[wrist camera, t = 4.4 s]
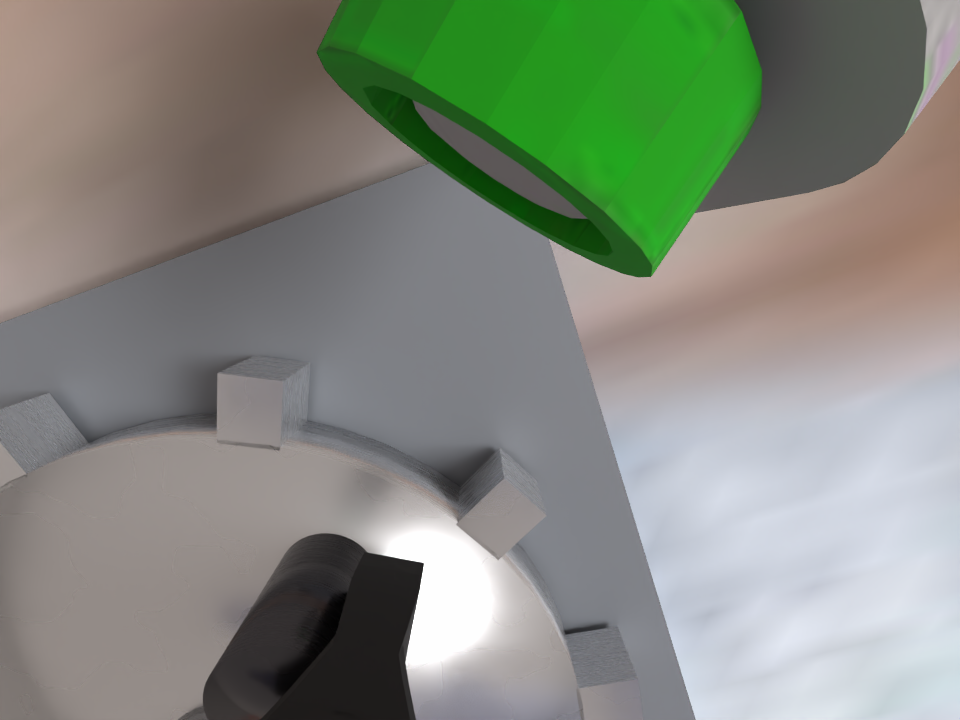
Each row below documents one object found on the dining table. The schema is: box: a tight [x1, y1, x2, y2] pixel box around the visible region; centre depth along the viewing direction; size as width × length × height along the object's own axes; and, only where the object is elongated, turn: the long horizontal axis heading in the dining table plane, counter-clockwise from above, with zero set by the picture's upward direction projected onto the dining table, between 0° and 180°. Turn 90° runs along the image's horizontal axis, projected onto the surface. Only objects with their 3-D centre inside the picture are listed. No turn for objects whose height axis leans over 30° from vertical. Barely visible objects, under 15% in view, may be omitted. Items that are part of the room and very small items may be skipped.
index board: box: [0, 163, 695, 720], centre depth 13 cm, size 22×24×2 cm
